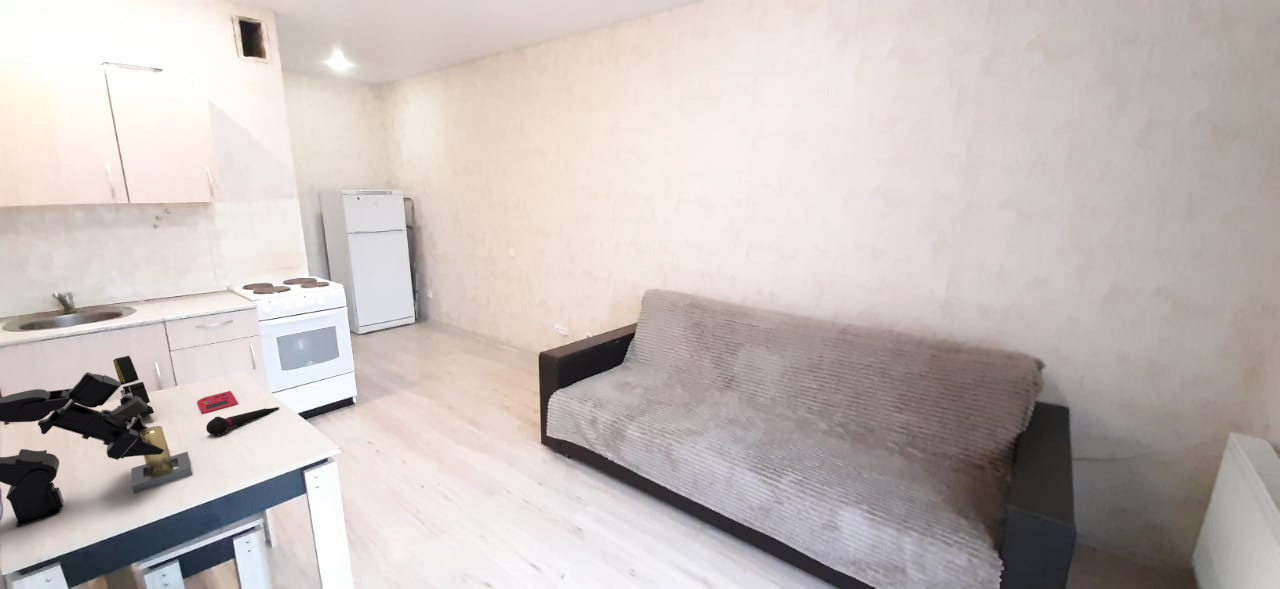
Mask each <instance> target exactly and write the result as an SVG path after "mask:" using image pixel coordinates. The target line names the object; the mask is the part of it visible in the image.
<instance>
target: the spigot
mask: <svg viewBox="0 0 1280 589" xmlns="http://www.w3.org/2000/svg"><path fill="white" fill-rule="evenodd" d="M140 432H141V435H142V438H143V440H145V441H147V442H149V443H151V444H153V445H156V446H158V447H160V448H161V449H163V450H164V451H163V453H162V454H157V455H143V458H144V462H145V464H146V466H147V469H148V472H149V475H148V477H151V476H154V475H157V474H160V473H164V472H167V471H170V470H173V469H175V467H173V465H172V461H171V454H170V451H169V446H168V443H166V442H167V440H165V439H166V436H165V433H164V430H163V426H161V425H156V426H151V427H148V428H146V429H144V430H141V431H140ZM138 434H139V432H138ZM167 446H168V447H167Z"/></svg>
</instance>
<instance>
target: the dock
mask: <svg viewBox="0 0 1280 589" xmlns="http://www.w3.org/2000/svg"><path fill="white" fill-rule="evenodd" d="M170 457H171V461H172V465H173V468H174V469H173V470H170V471H167V472H164V473H160V474H157V475H154V476H151V477H150V476H149V472H148V469H147V466H146V463H145V464H144V463H143V464H142V465H139V466H136V467H135V466H134V467H131V470H130V474H131V475H130V479H131V480H130V481H131V482H130V484H131V486H130V487H131V491H132V495H135V494H138V493H141V492H144V491H147V490H148V491H149V490H151V489H154V488H157V487H160V485H161V486H163V484H164V485H166V483H167V484H169V483H172V482H175V481H179V480H182V479H185V478H188V477H191V476H193V470H191V469H192V466H191V465H192V463H191V460H190V456H189V452H188V451H184V452H181V453H177V454H175V455H170ZM174 466H175V467H174ZM190 475H191V476H190ZM146 476H148V477H146ZM178 479H179V480H178Z"/></svg>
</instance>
